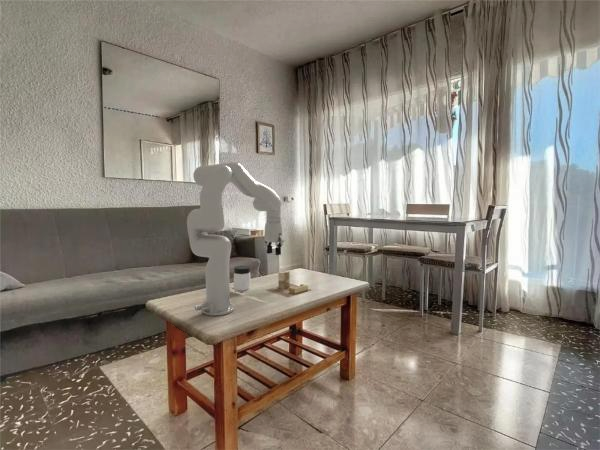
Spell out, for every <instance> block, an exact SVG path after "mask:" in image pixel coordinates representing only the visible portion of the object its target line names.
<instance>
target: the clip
mask: <svg viewBox="0 0 600 450" xmlns="http://www.w3.org/2000/svg"><path fill="white" fill-rule="evenodd" d="M299 286H300V287H296V288H294V287H289V293H292V294H297V293H301V292H304V291H308V289H309V285H307V284H303V283H301V284H300V285H299ZM308 292H309V291H308Z"/></svg>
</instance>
